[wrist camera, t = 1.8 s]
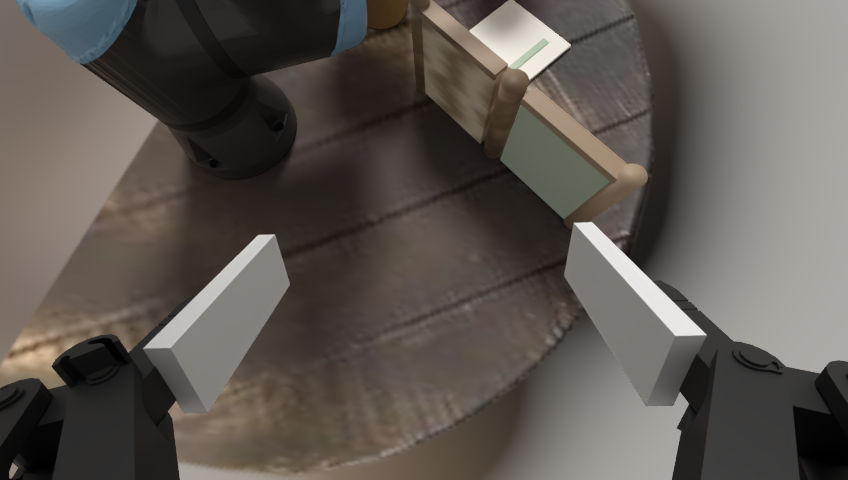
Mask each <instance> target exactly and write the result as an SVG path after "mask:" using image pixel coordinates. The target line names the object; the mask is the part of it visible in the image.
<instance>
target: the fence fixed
mask: <svg viewBox="0 0 848 480" xmlns="http://www.w3.org/2000/svg"><path fill="white" fill-rule="evenodd" d="M409 6H410V17H411V29H412V40H413V52H414V63H415V75H416V86H417V90H418V91H419V92H421V93H426V94H427V95H428V96H429V97H430V98H431V99H432V100H434V101H435V102H436V103H437V104H438V105H439V106H440V107H441V108H442V109H443V110H444V111H445V112H446V113H447V114H449V115H450V116H451V117H452V118H453V119H454V120H455V121H456V122H457V123H458V124H459V125H460V126H461V127H462V128H464V129H465V130H466V131H467V132H468V133H469V134H470V135H471V136H472V137H473V138H474V139H475V140H476V141H477V142H479V143H480V144H481V143H482V142H483V141H484V140H485V139H486V140H485V143H484V147H483V152H484V154H485V156H486V157H488V158H490V159H496V158H498V157H500V156H501V154H502V152H503V149H504V147H505V144H506V142H507V139H508V136H509V134H510V131H511V129H512V126H513V123H514V121H515V118H516V116H517V113H518V110H519V108H520V105H521V104H520V103H521V100H522V98H523V97H524V95H525V92H526V90H527V87H528V84H529V77H528V75H527V74H526V73H525V72H524V71H522V70H520V69H510V70H508V71H506V70H507V67H508V63H506V62H505V61H504V60H503V59H502V58H500V57H499V56H498V55H497V54H496V53H494V52H493V51H492V50H491V49H490V48H488V47H487V46H486V45H485V44H484V43H482V42H481V41H480V40H479V39H478V38H477V37H475V36H474V35H473V34H472V33H471V32H469V31H468V30H467V29H466V28H465V27H463V26H462V25H461V24H460V23H459V22H457V21H456V20H455V19H454V18H453V17H451V16H450V15H449V14H448V13H447V12H446V11H444V10H443V9H442V8H441V7H440V6H438V5H437V4H436V3H435V2H434V1H432V0H409ZM505 71H506V72H505ZM504 72H505V73H504Z"/></svg>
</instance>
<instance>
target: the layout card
mask: <svg viewBox="0 0 848 480" xmlns="http://www.w3.org/2000/svg"><path fill="white" fill-rule="evenodd" d="M469 32H471V33H472V34H473V35H474V36H475V37H477V38H478V39H479V40H480V41H481V42H482V43H484V44H485V45H486V46H487V47H488V48H490V49H491V50H492V51H493V52H494V53H496V54H497V55H498V56H499V57H500V58H502V59H503V60H504V61H505V62H506V63H508V67H507V70H506V71H508V70H510V69H520V70H522V71H524V72H525V73H526V74H527V75H528V77H529V81H531V80H532V79H533V78H534V77H535V76H537V75H538V74H539V73H540V72H541V71H542V70H544V69H545V68H546V67H547V66H548V65H550V64H551V63H552V62H553V61H554V60H556V59H557V58H558V57H559V56H560V55H562V54H563V53H564V52H565V51H566V50H568V49H569V48H570V47H571V45H570V44H569V43H568V42H567V41H565V40H564V39H563V38H561V37H560V36H559V35H558V34H556V33H555V32H554V31H552V30H551V29H550V28H549V27H547V26H546V25H545V24H543V23H542V22H541V21H540V20H538V19H537V18H536V17H534V16H533V15H532V14H531V13H529V12H528V11H527V10H525V9H524V8H523V7H522V6H520V5H519V4H518V3H516V2H515V1H514V0H508V1H507V2H505V3H504V4H503V5H502V6H500V7H499V8H498V9H496V10H495V11H494V12H493V13H491V14H490V15H489V16H487V17H486V18H485V19H484V20H482V21H481V22H480V23H479V24H477V25H476V26H475V27H473V28H472V29H471V30H470V31H469ZM506 71H505V72H506ZM505 72H504V73H505Z"/></svg>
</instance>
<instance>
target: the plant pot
mask: <svg viewBox="0 0 848 480" xmlns="http://www.w3.org/2000/svg"><path fill="white" fill-rule="evenodd" d="M408 3H409V0H366V5H367V26H368V27H371V28H374V29H387V28H390V27H393V26H395V25H396V24H398V23H399V22H400V21H401V20H402V19H403V17H404V15H405V13H406V10H407V6H408Z"/></svg>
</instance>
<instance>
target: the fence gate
mask: <svg viewBox="0 0 848 480" xmlns="http://www.w3.org/2000/svg"><path fill="white" fill-rule="evenodd" d="M520 104H521V107H520V109H519V112H518V114H517V117H516V120H515V122H514V125H513V127H512V130H511V133H510V135H509V138H508V140H507V143H506V145H505V148H504V151H503V153H502V156H501V158H500V160H501V161H502V162H503V163H504V164H505V165H506V166H507V167H508V168H509V169H510V170H511V171H512V172H513V173H514V174H516V175H517V176H518V177H519V178H520V179H521V180H522V181H523V182H524V183H525V184H526V185H527V186H528V187H530V188H531V189H532V190H533V191H534V192H535V193H536V194H537V195H538V196H539V197H540V198H541V199H542V200H544V201H545V202H546V203H547V204H548V205H549V206H550V207H551V208H552V209H553V210H554V211H555V212H556V213H557V214H559V215H560V216H561V217H562V218H563V219H564V224H565V226H566V227H567V228H568V229H571V230H572V229H573V224H574V223H583V222H589V221H590V220H592V219H593V218H595V217H596V216H598V215H599V214H601V213H602V212H604V211H605V210H607V209H608V208H610V207H612V206H613V205H615V204H616V203H618V202H619V201H621V200H622V199H624V198H625V197H627V196H628V195H630V194H631V193H633V192H634V191H636V190H637V189H639V188H640V187H642V186H643V185H644V184H645V183H646V182H647V178H648V176H647V172H646V171H645V169H644V168H643V167H641V166H640V165H637V164H627V163H626V162H624V161H623V160H622V159H621V158H620V157H618V156H617V155H616V154H615V153H614V152H612V151H611V150H610V149H609V148H608V147H606V146H605V145H604V144H603V143H602V142H601V141H599V140H598V139H597V138H596V137H595V136H593V135H592V134H591V133H590V132H589V131H587V130H586V129H585V128H584V127H583V126H581V125H580V124H579V123H578V122H577V121H575V120H574V119H573V118H572V117H571V116H570V115H568V114H567V113H566V112H565V111H564V110H562V109H561V108H560V107H559V106H558V105H556V104H555V103H554V102H553V101H552V100H550V99H549V98H548V97H547V96H546V95H544V94H543V93H542V92H541V91H540V90H539V89H537V88H536V87H535V88H534V89H533V90H531V91H530V92H529V93H528V94H527V95H526V96H524V97H523V98H522V100H521V103H520Z"/></svg>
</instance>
